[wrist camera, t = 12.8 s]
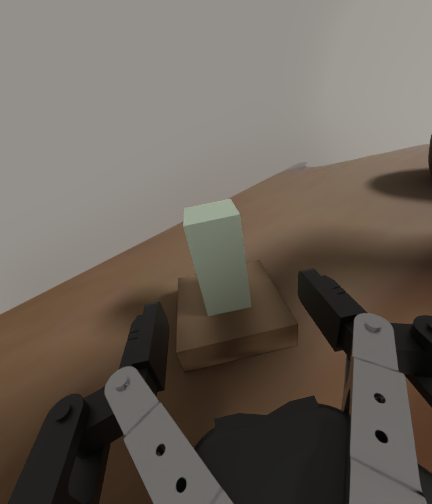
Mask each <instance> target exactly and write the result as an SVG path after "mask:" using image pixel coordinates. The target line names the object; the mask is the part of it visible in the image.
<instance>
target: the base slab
mask: <svg viewBox="0 0 432 504" xmlns="http://www.w3.org/2000/svg"><path fill="white" fill-rule="evenodd" d="M246 266H247V274H248V282H249V290H250V298H251V306H252V307H249V308H245V309H240V310H235V311H231V312H226V313H221V314H216V315H212V316H208V315H207V311H206V307H205V304H204V300H203V296H202V293H201V289H200V285H199V282H198V278H197V274H195V275H191V276H186V277H182V278H178V306H177V339H176V353H177V356H178V358H179V360H180V363H181V365H182V367H183V370H184V372H187V371H191V370H196V369H200V368H204V367H208V366H212V365H217V364H221V363H225V362H229V361H233V360H238V359H242V358H246V357H250V356H254V355H259V354H263V353H267V352H271V351H275V350H280V349H284V348H288V347H292V346H296V345H297V338H298V323H297V322H296V320H295V318H294V317H293V315H292V313H291V312H290V310H289V308H288V307H287V305H286V303H285V302H284V300H283V298H282V297H281V295H280V293H279V292H278V290H277V288H276V287H275V285H274V283H273V282H272V280H271V278H270V277H269V275H268V273H267V272H266V270H265V268H264V267H263V265H262V263H261V262H260V260H258V261H253V262H249V263H246Z"/></svg>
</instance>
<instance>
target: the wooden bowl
mask: <svg viewBox="0 0 432 504" xmlns="http://www.w3.org/2000/svg"><path fill="white" fill-rule="evenodd" d="M428 162H429V169H430V173H431V175H432V135H431V139H430V147H429V157H428Z"/></svg>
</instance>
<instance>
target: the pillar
mask: <svg viewBox="0 0 432 504" xmlns="http://www.w3.org/2000/svg"><path fill="white" fill-rule="evenodd" d="M183 227H184V230H185V234H186V238H187V241H188V245H189V249H190V252H191V256H192V260H193V263H194V267H195V271H196V274H197V278H198V282H199V285H200V289H201V293H202V296H203V300H204V304H205V307H206V311H207V315H208V316H212V315H216V314H221V313H226V312H231V311H235V310H240V309H245V308H249V307H252V306H251V298H250V290H249V282H248V274H247V266H246V258H245V250H244V242H243V234H242V226H241V218H240V213H239V212H238V210H237V209H236V207H235V205H234V204H233V202H232V201H231V199H226V200H221V201H217V202H211V203H207V204H202V205H197V206H193V207H187V208H184V223H183Z"/></svg>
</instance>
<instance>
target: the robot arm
mask: <svg viewBox="0 0 432 504" xmlns="http://www.w3.org/2000/svg"><path fill="white" fill-rule="evenodd" d="M298 296H299V299H300V301H301V303H302V305H303V306H304V307H305V309H306V310H307V312H308V313H309V315H310V316H311V318H312V319H313V321H314V322H315V323H316V325H317V326H318V328H319V329H320V331H321V332H322V334H323V335H324V337H325V338H326V339H327V341H328V342H329V344H330V345H331V347H332V348H333V350H334V351H335V352H336V351H341V350H344V352H345V353H346V354H347V356H346V365H345V378H344V392H343V400H342V407H341V410H339V409H337V408H335V407H332V406H329V405H324V404H318V403H317V401H316V399H315V397H314V396H310V397H306V398H302V399H298V400H293V401H290V402H288V403H286V404H285V405H283V406H281V407H280V408H278V409H276V410H275V411H273V412H271V413H270V414H268V415H257V414H243V413H238V414H234V415H229V416H225V417H221V418H217V419H215V428H213V429H212V430H210V431H209V432H208V433H207V434H205V435H204V437H203V438H202V439H201V440H200V441H199V442H198V444H197V445H196V446H195V448H193V447H192V446H191V444H190V443H189V441H188V440H187V439H186V437H185V436H184V434H183V433H182V432H181V430H180V429H179V427H178V426H177V425H176V423H175V422H174V420H173V419H172V418H171V416H170V415H169V413H168V412H167V410H166V409H165V408H164V406H163V405H162V404H161V402H160V401H159V400H158V399H157V398H156V397H157V392H158V391H163V390H164V389H165V377H166V364H167V352H168V339H169V324H168V320H167V318H166V315H165V313H164V310H163V308H162V305H161V303H160V302H155V303H150V304H146V305H145V307H144V312H143V315H139V316H137V317H136V319H135V320H134V321H133V323H132V325H131V328H130V332H129V333H130V334H129V335H128V339H127V340H128V341H127V343H126V346H125V350H124V353H123V357H122V360H121V364H120V367H119V370H118V371H116V372H115V373H114V374H113V375H112V376H111V377H110V378H109V380H108V381H107V383H106V386H105V387H103V388H102V389H100V390H98V391H96V392H94V393H92V394H91V395H89V396H87V397H85V398H83V397H82V396H81V395H79V394H71V395H68V396H66V397H64V398H63V399H61V400H60V401H59V402H58V403H57V404H55V405H54V407H53V408H52V409H51V410H50V411H49V413H48V415H47V416H46V418H45V421H44V423H43V425H42V427H41V430H40V432H39V434H38V436H37V439H36V441H35V443H34V446H33V448H32V450H31V452H30V455H29V457H28V459H27V461H26V464H25V466H24V468H23V470H22V473H21V475H20V477H19V479H18V482H17V484H16V486H15V488H14V491H13V493H12V495H11V498H10V500H9V502H8V504H99V500H100V495H101V490H102V485H103V480H104V474H105V469H106V464H107V459H108V454H109V449H110V444H111V442H113V441H115V440H116V439H118V438H119V437H121V436H123V435H124V437H123V439H124V442H125V444H126V446H127V448H128V451H129V453H130V455H131V457H132V459H133V461H134V463H135V465H136V468H137V470H138V472H139V474H140V476H141V478H142V480H143V482H144V484H145V487H146V489H147V491H148V493H149V495H150V497H151V499H152V501H153V503H154V504H432V473H430V472H429V471H428V470H426V469H425V468H423V467H422V466H421V465H419V464H418V463H417V458H416V451H415V443H414V436H413V429H412V422H411V415H410V408H409V401H408V394H407V387H406V380H405V376H406V377H407V378H408V380H409V381H410V382H411V383H412V384H413V386H414V387H415V388H416V389H417V390H418V392H419V393H420V394H421V395H422V396H423V398H424V399H425V400H426V401H427V402H428V404H429V405H430V406H431V407H432V316H427V315H423V316H418V317H416V318H415V320H414V322H413V324H398V323H389V322H388V321H387V320H386V319H384V318H382V317H380V316H378V315H375V314H371V313H367V312H366V311H365V310H364V309H363V308H362V307H361V306H360V305H359V304H358V303H357V302H356V301H355V300H354V299H353V298H352V297H351V296H350V295H349V294H348V293H346V291H345V290H344V289H343V288H341V287H340V286H339V285H338V284H337V283H336V282H335V281H334V280H333V279H331V278H329V277H327V276H325V275H323V276H320V275H319V274H318V273H317V272H316V271H315V270H314V269H308V270H303V271H299V273H298ZM404 375H405V376H404Z"/></svg>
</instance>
